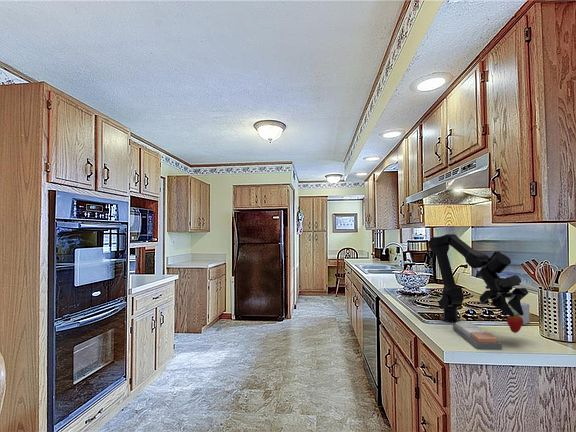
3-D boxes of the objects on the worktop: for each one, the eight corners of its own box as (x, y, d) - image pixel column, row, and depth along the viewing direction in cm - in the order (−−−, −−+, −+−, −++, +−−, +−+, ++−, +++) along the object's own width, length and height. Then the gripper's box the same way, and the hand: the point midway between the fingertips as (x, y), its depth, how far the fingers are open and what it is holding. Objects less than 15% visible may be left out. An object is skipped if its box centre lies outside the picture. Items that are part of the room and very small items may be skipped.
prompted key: (471, 338, 134) (471, 332, 134) (488, 338, 134) (488, 333, 134) (478, 344, 128) (478, 338, 128) (497, 344, 127) (497, 338, 127)
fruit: (507, 329, 135) (507, 308, 135) (524, 332, 132) (524, 310, 132) (505, 332, 131) (505, 311, 131) (522, 335, 128) (522, 313, 128)
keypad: (453, 329, 150) (452, 322, 150) (473, 330, 149) (473, 322, 149) (477, 349, 127) (476, 340, 127) (501, 349, 126) (501, 340, 126)
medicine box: (518, 320, 162) (518, 301, 162) (529, 323, 158) (529, 303, 158) (510, 323, 157) (509, 304, 158) (521, 326, 154) (520, 306, 154)
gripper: (485, 269, 133) (511, 305, 122) (523, 266, 138) (552, 301, 127) (469, 286, 140) (492, 322, 130) (506, 283, 145) (532, 317, 135)
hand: (517, 315), depth 130 cm, fingers closed on fruit, 4 cm apart
